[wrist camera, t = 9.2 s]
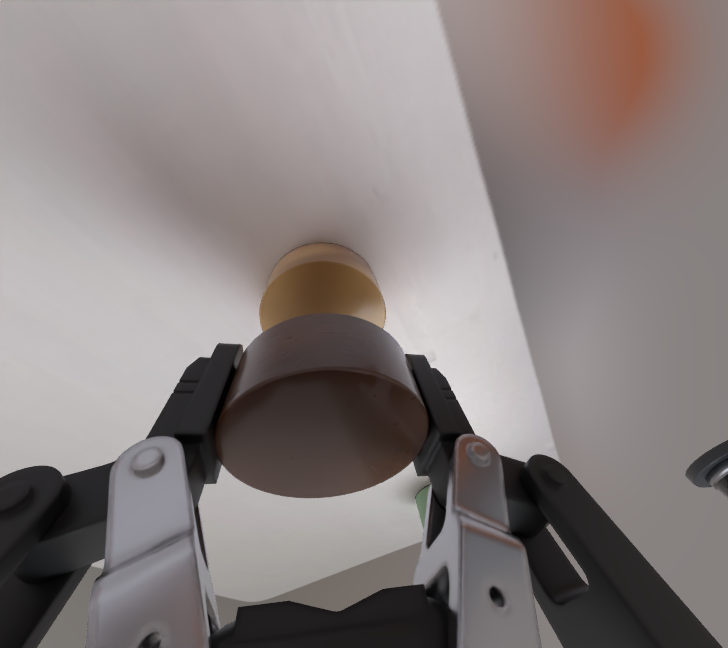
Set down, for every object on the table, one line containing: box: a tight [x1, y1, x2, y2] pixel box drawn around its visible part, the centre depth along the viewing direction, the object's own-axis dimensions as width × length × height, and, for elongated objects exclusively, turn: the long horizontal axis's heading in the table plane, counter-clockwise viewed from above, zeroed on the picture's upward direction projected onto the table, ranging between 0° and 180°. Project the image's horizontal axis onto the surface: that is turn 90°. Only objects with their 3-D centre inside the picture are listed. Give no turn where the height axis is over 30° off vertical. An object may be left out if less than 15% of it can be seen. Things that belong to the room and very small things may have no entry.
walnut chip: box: [214, 313, 429, 498], centre depth 9 cm, size 6×6×2 cm
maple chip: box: [259, 243, 386, 332], centre depth 14 cm, size 6×6×2 cm
